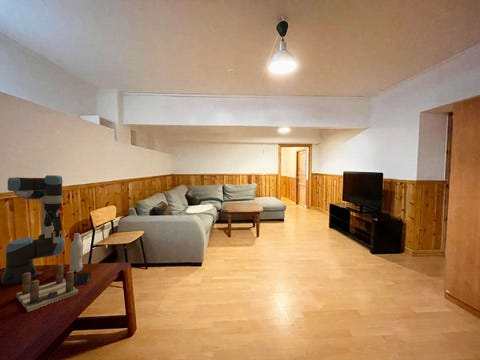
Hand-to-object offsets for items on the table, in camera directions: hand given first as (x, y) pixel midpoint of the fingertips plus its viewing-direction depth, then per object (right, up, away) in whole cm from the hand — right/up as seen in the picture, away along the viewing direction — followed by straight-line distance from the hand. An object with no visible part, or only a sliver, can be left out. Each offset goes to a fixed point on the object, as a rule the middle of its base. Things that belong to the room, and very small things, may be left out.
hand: (52, 240), depth 125 cm
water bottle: (-2, -26, +20) cm, 33 cm away
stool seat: (+5, -27, -8) cm, 29 cm away
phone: (+10, -28, +10) cm, 31 cm away
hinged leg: (+8, -25, -14) cm, 30 cm away
